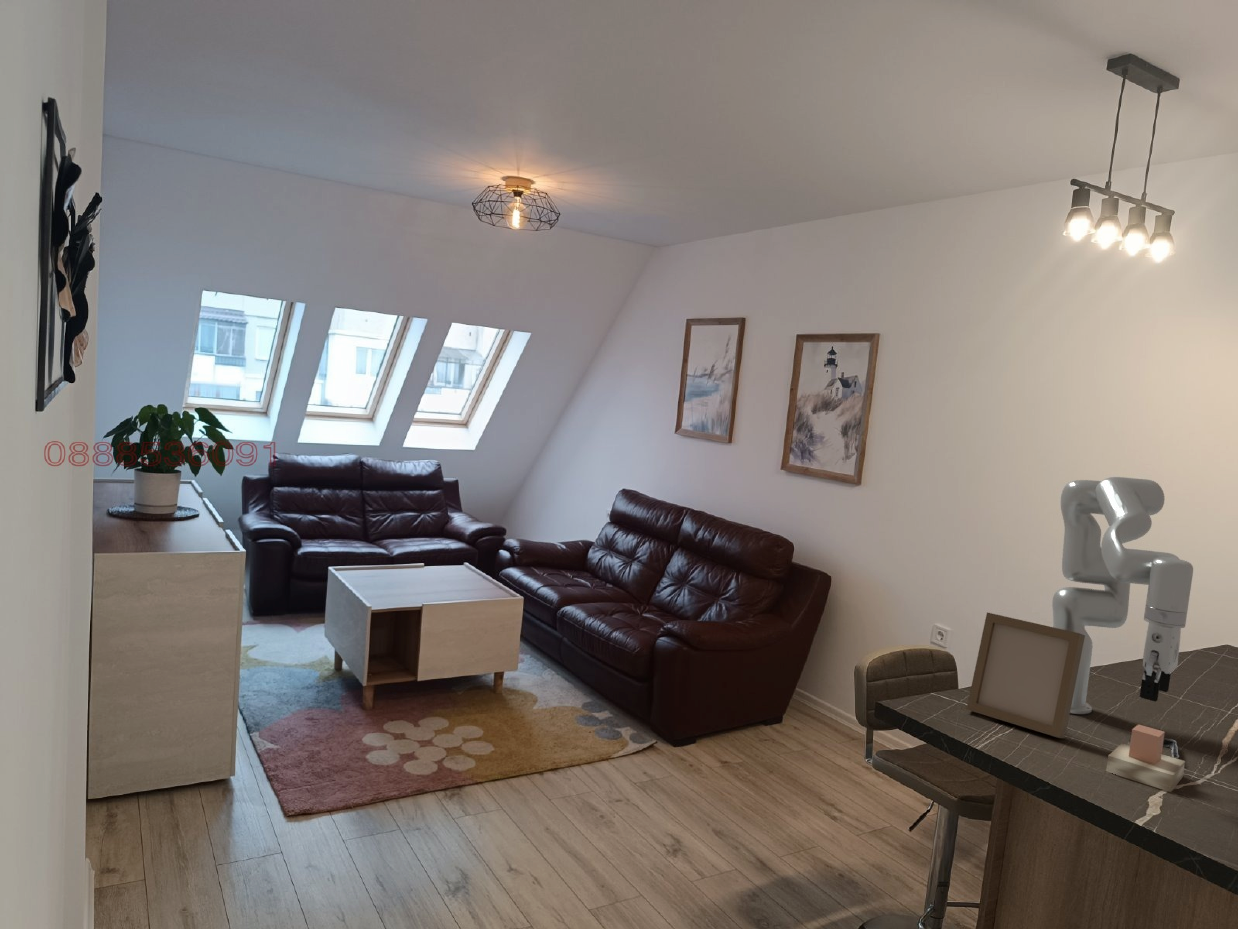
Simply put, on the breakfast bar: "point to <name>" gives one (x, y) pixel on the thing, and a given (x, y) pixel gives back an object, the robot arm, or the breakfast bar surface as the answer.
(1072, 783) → the breakfast bar surface
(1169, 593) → the robot arm
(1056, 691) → the photo frame
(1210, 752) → the breakfast bar surface
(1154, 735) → the terracotta block
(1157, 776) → the birch block
